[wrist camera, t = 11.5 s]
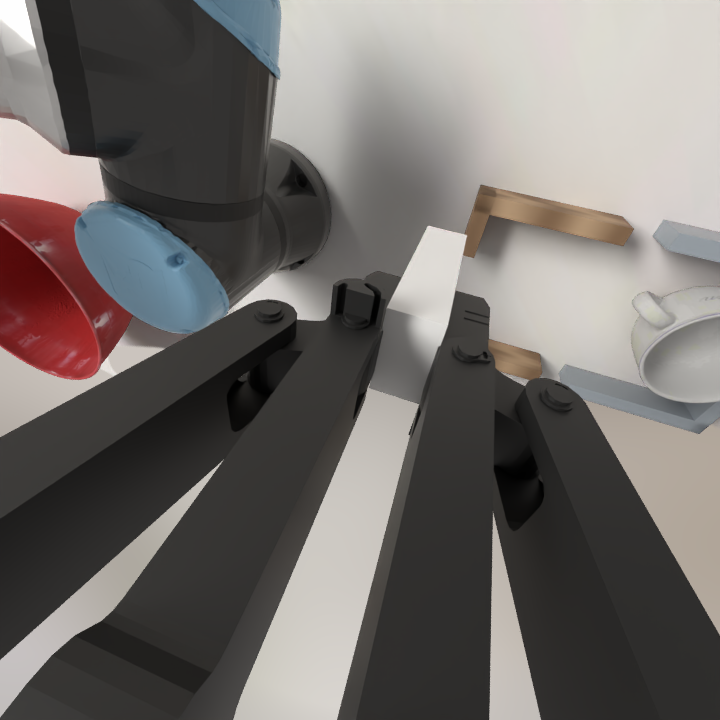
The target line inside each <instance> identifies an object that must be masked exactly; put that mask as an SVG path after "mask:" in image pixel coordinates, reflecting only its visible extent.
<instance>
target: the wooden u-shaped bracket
mask: <svg viewBox="0 0 720 720" xmlns="http://www.w3.org/2000/svg"><path fill="white" fill-rule="evenodd" d="M489 215H493V216H497V217H501V218H506V219H510V220H514V221H518V222H523V223H527V224H531V225H535V226H540V227H544V228H548V229H552V230H557V231H561V232H565V233H569V234H574V235H578V236H582V237H586V238H590V239H595V240H599V241H603V242H607V243H612V244H616V245H620V246H624V244H625V242H626V241H627V239H628V238H629V236H630V235H631V233H632V231H633V230H634V228H633V227H632V226H631V225H630V224H629V223H628V222H627V221H626V220H625V219H624V218H623V217H622V216H618V215H613V214H609V213H604V212H600V211H595V210H591V209H586V208H582V207H578V206H573V205H569V204H564V203H560V202H555V201H551V200H546V199H542V198H537V197H533V196H528V195H524V194H520V193H515V192H511V191H506V190H502V189H497V188H493V187H488V186H484V185H481V186H480V189H479V192H478V195H477V198H476V201H475V204H474V207H473V210H472V213H471V216H470V219H469V222H468V225H467V228H466V231H465V234H464V235H467V238H466V242H465V247H464V252H463V255H464V256H468V257H472V258H474V256H475V253H476V251H477V248H478V245H479V242H480V240H481V237H482V234H483V232H484V229H485V226H486V223H487V221H488V218H489ZM488 349H489V351H490V352H491V353H492V354H493V356H494V359H495V368H496V369H497V370H498V371H501V372H505V373H508V374H511V375H515V376H518V377H521V378H525V379H528V380H532V379H535V378H539V377H540V375H541V374H542V367H541V361H540V354H539V353H535V352H532V351H528V350H525V349H521V348H518V347H514V346H511V345H507V344H504V343H500V342H497V341H493V340H490V339H489V343H488Z"/></svg>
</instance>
